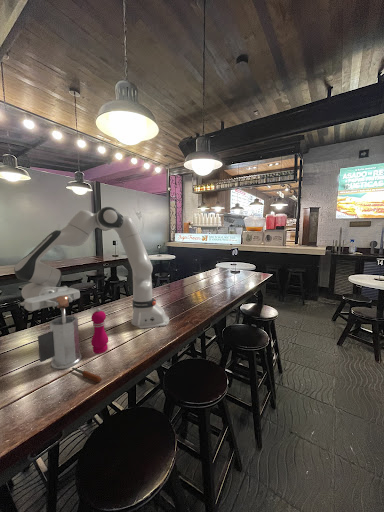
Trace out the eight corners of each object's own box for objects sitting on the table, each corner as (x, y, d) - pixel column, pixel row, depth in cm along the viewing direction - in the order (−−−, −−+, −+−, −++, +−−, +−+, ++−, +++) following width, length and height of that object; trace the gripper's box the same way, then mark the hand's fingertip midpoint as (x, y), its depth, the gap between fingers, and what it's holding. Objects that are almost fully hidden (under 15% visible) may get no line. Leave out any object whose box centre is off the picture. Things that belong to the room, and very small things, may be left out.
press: (85, 353, 96) (83, 314, 94) (70, 373, 83) (67, 328, 80) (59, 354, 95) (56, 315, 93) (39, 374, 82) (35, 329, 80)
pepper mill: (95, 346, 102) (93, 305, 100) (110, 345, 103) (109, 305, 100) (89, 354, 95) (86, 311, 93) (105, 354, 96) (104, 310, 93)
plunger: (77, 352, 93) (73, 294, 90) (70, 361, 87) (66, 298, 84) (62, 353, 93) (58, 294, 90) (55, 361, 87) (50, 299, 84)
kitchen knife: (102, 381, 79) (101, 376, 78) (98, 384, 77) (98, 379, 77) (73, 369, 85) (73, 365, 85) (70, 371, 84) (69, 367, 84)
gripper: (17, 295, 85) (33, 301, 78) (69, 284, 102) (86, 288, 95) (18, 311, 85) (35, 318, 78) (69, 297, 103) (87, 302, 96)
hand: (63, 302), depth 87 cm, fingers closed on plunger, 4 cm apart
